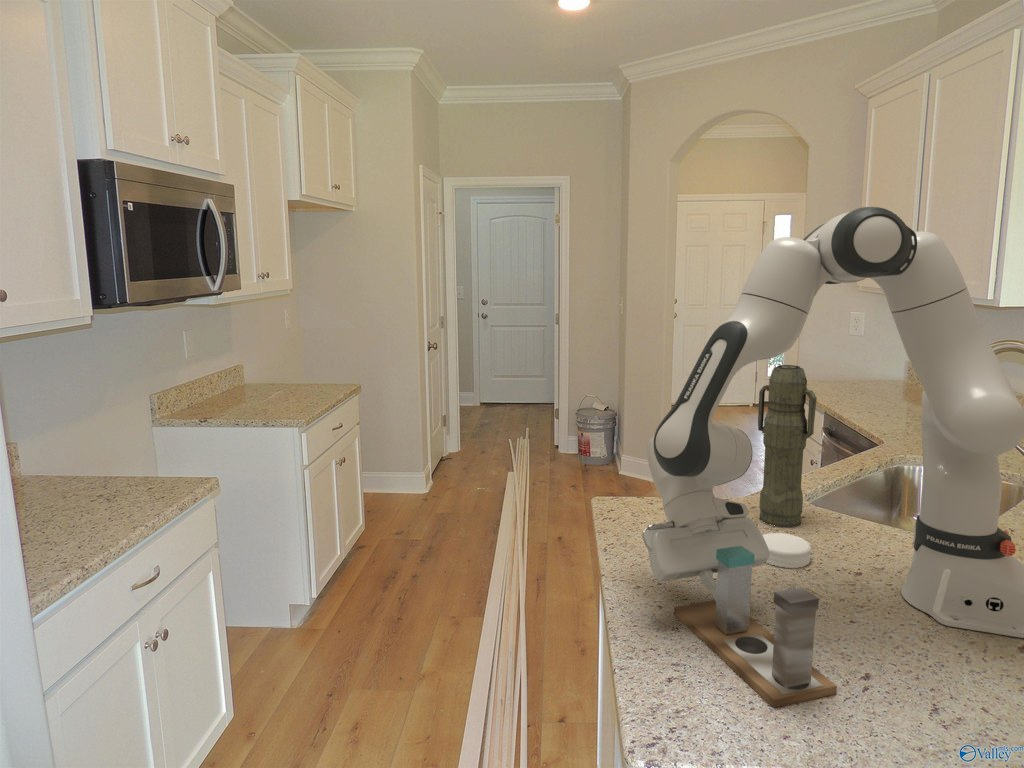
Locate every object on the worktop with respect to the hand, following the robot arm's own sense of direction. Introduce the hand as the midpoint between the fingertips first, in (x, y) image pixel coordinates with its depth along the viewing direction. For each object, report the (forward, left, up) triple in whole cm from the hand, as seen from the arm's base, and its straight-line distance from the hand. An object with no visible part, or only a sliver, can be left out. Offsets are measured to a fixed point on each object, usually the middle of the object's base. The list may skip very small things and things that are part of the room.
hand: (725, 598), depth 110 cm
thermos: (+3, -53, -5) cm, 53 cm away
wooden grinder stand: (-5, +4, -5) cm, 8 cm away
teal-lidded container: (-2, +1, -4) cm, 4 cm away
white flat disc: (-2, -33, -6) cm, 34 cm away
